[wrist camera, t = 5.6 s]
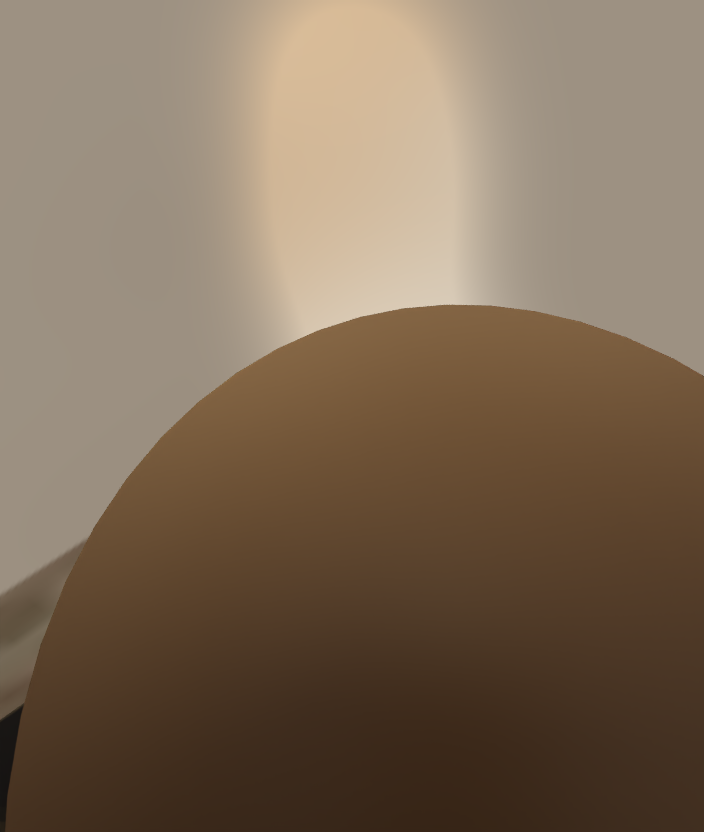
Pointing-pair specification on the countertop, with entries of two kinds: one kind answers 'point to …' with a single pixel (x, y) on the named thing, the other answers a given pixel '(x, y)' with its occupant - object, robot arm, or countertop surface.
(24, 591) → the countertop surface
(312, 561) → the walnut post
